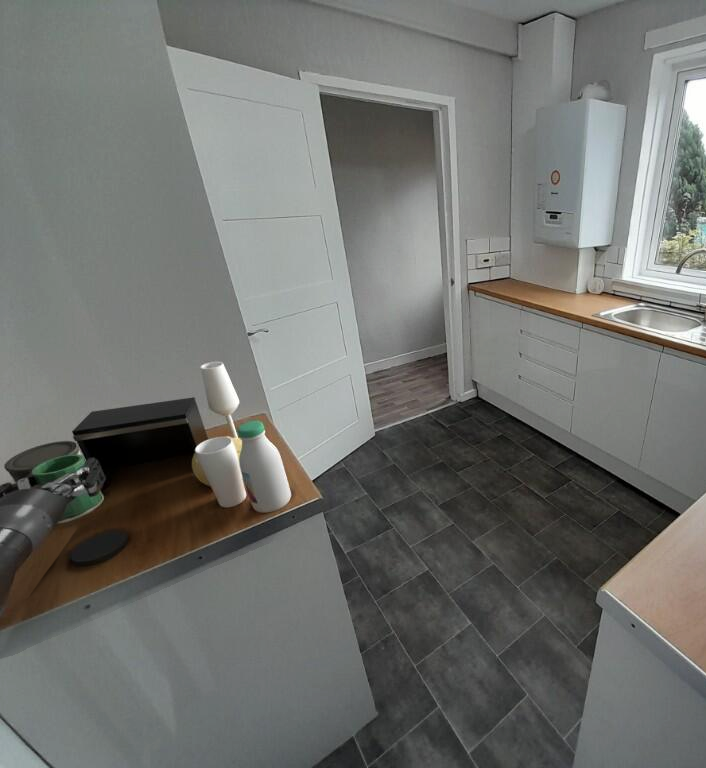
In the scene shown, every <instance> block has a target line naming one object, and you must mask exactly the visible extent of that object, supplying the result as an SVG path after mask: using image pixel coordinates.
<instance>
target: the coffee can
mask: <svg viewBox="0 0 706 768" xmlns="http://www.w3.org/2000/svg"><path fill="white" fill-rule="evenodd" d="M71 454H79V455H82V456H83V454H82V452H81V449H80V447H79V445H78V443H77V442H76V441H72V440H71V441H70V440H62V441H54V442H53V441H52V442H48V443H44V444H40V445H37V446H34V447H31V448H29V449H26V450H23V451H21V452H19V453H17V454H16V455H14V456H12V457H11V458H9V459H8V460H7V461H6V462H5V463H4V465H3V467H4V469H5V471H7V473H9V475H10V477H11V478H12V480H13V482H14V484H15V483H17V481H18V480H20V479H23V478H25V477H26V476H27V475H28V474H29V473H30V472H32V470H33V469H34V468H35V467H36V466H38V465H39V464H41V463H43V462H45V461H48V460H50V459H53V458H57V457H60V456H65V455H71ZM100 493H101V496H102V500H101V502H100V503H99V504H98V505H96V506H95V507H93V508H91V509H90V510H88V511H85V512H83V513H80V514H77V515H74V516H69V517H62V518H61V519H60V520H59V522H58V523H57V524H56V525H55V526H57V525H61V524H65V523H69V522H73V521H75V520H77V519H80V518H82V517H84V516H85V515H86V516H87V515H88V514H90V513H91V512H93V511H94V510H96V509H97V508H98V507H100V505H102V503H103V502H104V500H105V499H104V498H105V495H104V493H102V491H100Z"/></svg>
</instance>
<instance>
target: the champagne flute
mask: <svg viewBox="0 0 706 768" xmlns="http://www.w3.org/2000/svg"><path fill="white" fill-rule="evenodd" d="M199 368H200V371H201V378H202V382H203V386H204V391H205V395H206V401H207V404H208V405H207V406H208V408H209V410H210V411H211V412H213V413H215V414H217V415H220V416H222V417H223V416H224V417H225V419H226V421H227V422H226V423H227V425H228V428H229V431H230V434H231V437H232V438H239V435H238V432H237V431H236V427H235V423H234V421H233V418H232V414H233V413H234V412H235V411H236V410H237V409H238V407H239V406H240V405H239V404H240V399H239V396H238V394H237V391H236V389H235V387H234V385H233V383H232V381H231V378H230V375H229V374H228V371H227V369H226V366H225V365H224V362H223V361H211V362H206V363H203V364H202V365H200V367H199Z"/></svg>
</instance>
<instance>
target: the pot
mask: <svg viewBox="0 0 706 768" xmlns="http://www.w3.org/2000/svg"><path fill="white" fill-rule="evenodd" d="M85 462H86V460H85V458H84V456H83V454H82V455H79V454H71V455H65V456H60V457H57V458H53V459H50V460H48V461H45V462H43V463H41V464H39V465H38V466H36V467H35V468H34V469H33V470H32V474H33V476H34V478H35V480H36V482H37V484H45V483H49V482H53V481H55V480H57V479H58V478H60V477H62V476H64V475H65V474H68V473H71V474H73V473H74V472H76V471H78V470H79V469H80V468H81V467H82V466H83V465H84V463H85ZM79 480H80V481H81V480H83V477H82V475H81V476H79ZM66 483H67V484H69V483H68V481H66ZM101 493H102V492H101ZM101 493H100V492H99V494H98V495H96V496H93V497H89V495H88V493H87V494H83V495H79V496H76V498H75V499H74V500H72V501H70V502H69V503H68V504H67V505H66V509H65V512H64V514H63V516H62V517H69V516H74V515H77V514H80V513H83V512H85V511H88V510H90V509H91V508H93V507H95V506H96V505H98V504H99V503H100V502H101V500H102V496H101Z"/></svg>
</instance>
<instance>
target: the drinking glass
mask: <svg viewBox="0 0 706 768" xmlns="http://www.w3.org/2000/svg"><path fill="white" fill-rule="evenodd" d="M229 437H230V436H228V437H226V436H218V437H217V436H216V437H213V438H208V440H206V441H204V442H202V443H200V444H199V445H198V446H197V447H196V448H195V453H196V456H197V459H198V462H199V465H200V467H201V469H202V471H203V473H204V475H205V477H206V479H207V481H208V483H209V484H210V486H209V487H210V488H211V490H212V492H213V494H214V496H215V498H216V500H217V503H218V505H219V506H220V507H221V508H233V507H236V506H239V505H240V504H241V503H243V502H244V501H245V500H246V498H247V490H246V487H245V482H244V479H243V478H242V474H241V469H240V464H239V459H238V455H237V451H236V448H235V446H234V443H233V441H232V439H231V438H229Z"/></svg>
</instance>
